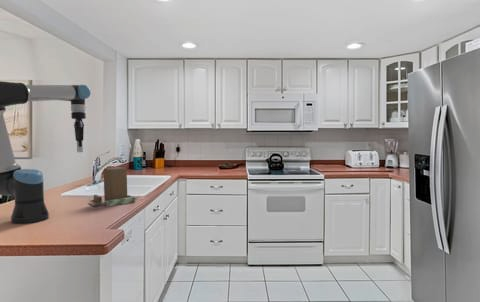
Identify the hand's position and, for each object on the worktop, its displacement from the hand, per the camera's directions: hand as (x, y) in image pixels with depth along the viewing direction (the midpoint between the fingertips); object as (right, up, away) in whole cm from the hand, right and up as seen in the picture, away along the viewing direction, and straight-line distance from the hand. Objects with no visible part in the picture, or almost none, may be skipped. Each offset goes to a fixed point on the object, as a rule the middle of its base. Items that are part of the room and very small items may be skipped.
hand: (79, 152), depth 201 cm
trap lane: (+19, -29, +2) cm, 35 cm away
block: (+21, -29, 0) cm, 36 cm away
